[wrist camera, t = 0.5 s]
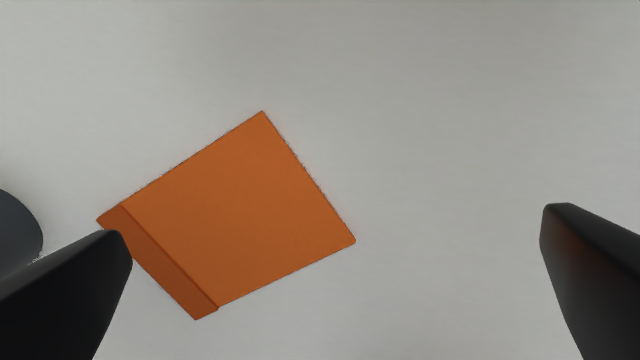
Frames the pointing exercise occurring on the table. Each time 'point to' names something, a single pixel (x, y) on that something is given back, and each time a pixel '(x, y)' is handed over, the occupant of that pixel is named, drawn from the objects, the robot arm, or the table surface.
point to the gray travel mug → (17, 235)
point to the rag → (229, 220)
